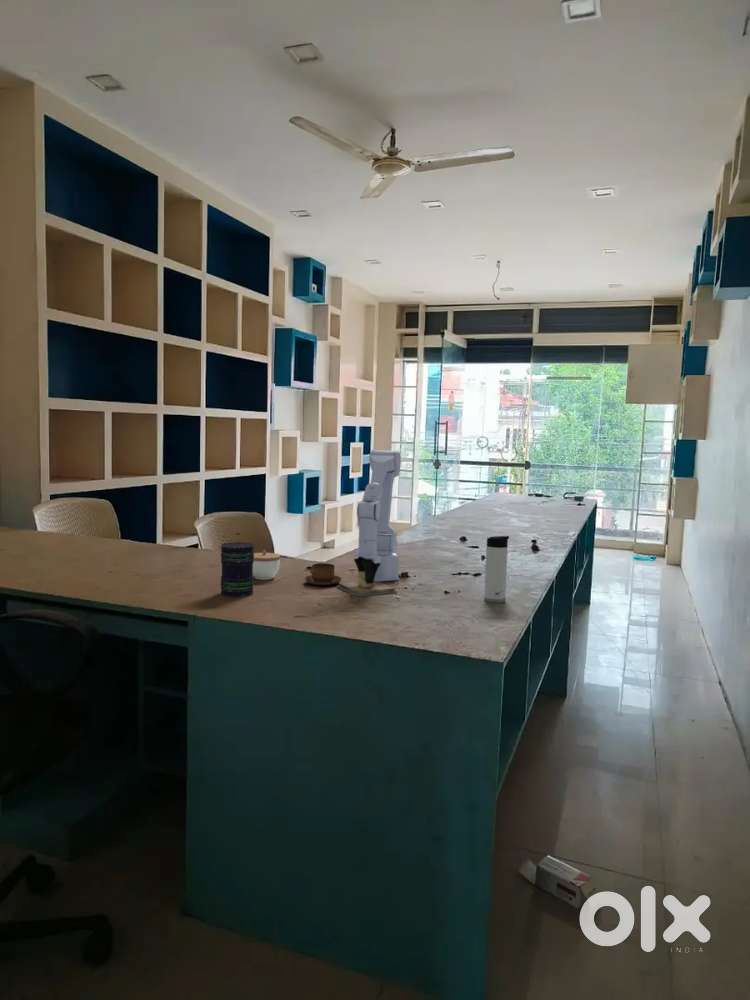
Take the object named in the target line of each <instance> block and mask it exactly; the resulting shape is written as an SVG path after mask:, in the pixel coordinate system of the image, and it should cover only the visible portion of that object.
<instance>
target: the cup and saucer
mask: <svg viewBox="0 0 750 1000" xmlns="http://www.w3.org/2000/svg"><path fill="white" fill-rule="evenodd" d="M311 565H312V566H310V568H309V573H310V574H311V575H308V576H307V575H306V576H305V577H304V581H305V582H306V583H308V584H311V585H315V586H321V587H322V586H332V585H336V584H338V583H341V581H342V577H341V576H338V575H335V567H336V566H335V564H332V563H327V562H326V563H322V562H321V563H319V562H318V563H313V564H311Z"/></svg>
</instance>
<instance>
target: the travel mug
mask: <svg viewBox="0 0 750 1000" xmlns="http://www.w3.org/2000/svg"><path fill="white" fill-rule="evenodd" d="M509 539H510V536H509V535H499V536H498V535H497V536H490V537H487V539H486V550H485V551H486V552H485V554H486V555H485V570H484V571H485V573H484V574H485V576H484V597H483V598H484V601H485V602H487V603H493V604H494V603H495V604H499V603H500V604H501V603H504V602H506V593H507V592H506V591H507V590H506V588H507V572H508V571H507V568H508V566H507V565H508V548H509V547H508V542H509Z"/></svg>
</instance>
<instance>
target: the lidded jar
mask: <svg viewBox="0 0 750 1000" xmlns="http://www.w3.org/2000/svg"><path fill="white" fill-rule="evenodd" d="M253 553H254V557H253V558H254V563H253V578H255V579H256V580H262V581H265V580H272V579H274V577H275V576H276V575H277V574H278V572H279V569H280V566H281V554H279V553H276V552H267V551H266V550H265V549H264V550H262V552H253Z"/></svg>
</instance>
